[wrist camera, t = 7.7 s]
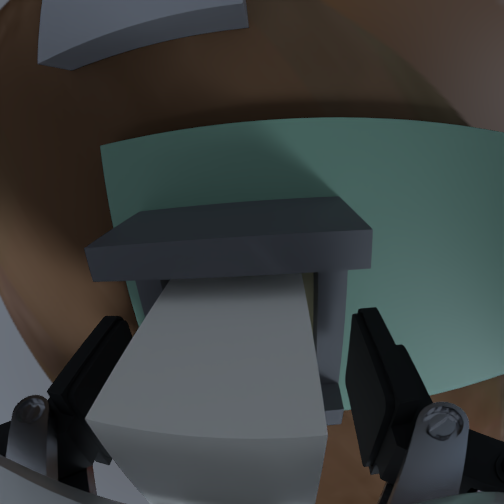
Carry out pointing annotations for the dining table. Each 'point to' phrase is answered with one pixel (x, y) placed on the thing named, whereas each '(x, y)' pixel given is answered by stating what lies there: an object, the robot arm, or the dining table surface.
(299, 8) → the dining table surface
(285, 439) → the plug
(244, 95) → the dining table surface
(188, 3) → the grey push button pad
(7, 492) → the robot arm
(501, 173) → the board
